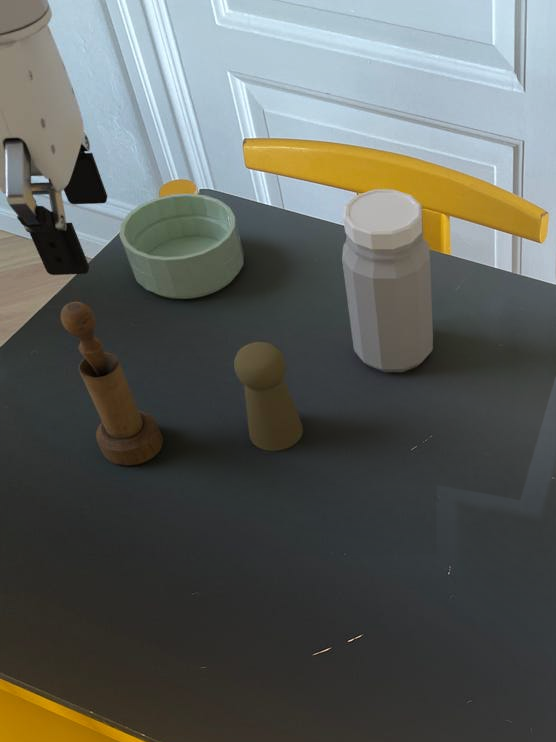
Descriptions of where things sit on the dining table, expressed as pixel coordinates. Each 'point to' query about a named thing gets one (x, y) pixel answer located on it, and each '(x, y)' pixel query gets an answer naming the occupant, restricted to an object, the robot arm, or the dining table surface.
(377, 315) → the jar
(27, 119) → the robot arm
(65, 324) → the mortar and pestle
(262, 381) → the board game pawn
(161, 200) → the bowl
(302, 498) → the dining table surface
